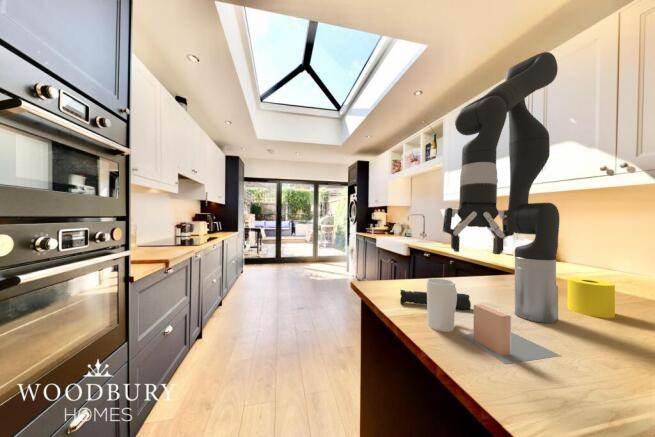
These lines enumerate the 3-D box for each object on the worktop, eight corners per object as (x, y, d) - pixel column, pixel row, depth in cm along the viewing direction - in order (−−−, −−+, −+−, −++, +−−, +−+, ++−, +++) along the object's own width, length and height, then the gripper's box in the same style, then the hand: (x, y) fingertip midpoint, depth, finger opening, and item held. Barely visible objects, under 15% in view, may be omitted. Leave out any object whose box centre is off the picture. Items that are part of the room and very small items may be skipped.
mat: (506, 331, 62) (506, 329, 62) (561, 357, 50) (561, 355, 50) (459, 336, 59) (458, 335, 59) (505, 366, 47) (505, 363, 47)
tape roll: (625, 318, 71) (625, 285, 71) (590, 317, 71) (590, 285, 71) (589, 306, 81) (589, 277, 81) (558, 305, 81) (558, 277, 81)
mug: (443, 335, 59) (444, 286, 59) (420, 325, 65) (421, 280, 65) (468, 327, 64) (468, 281, 64) (445, 318, 70) (445, 276, 70)
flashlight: (471, 313, 74) (471, 296, 74) (400, 305, 80) (400, 290, 80) (466, 307, 79) (466, 292, 79) (400, 301, 85) (400, 286, 85)
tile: (482, 338, 57) (482, 304, 57) (511, 354, 50) (511, 315, 50) (473, 339, 56) (473, 304, 57) (501, 355, 50) (501, 316, 50)
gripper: (504, 187, 60) (503, 253, 59) (442, 187, 64) (440, 249, 63) (520, 181, 53) (519, 256, 52) (449, 181, 56) (446, 251, 56)
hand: (476, 252), depth 58 cm, fingers open, 8 cm apart
